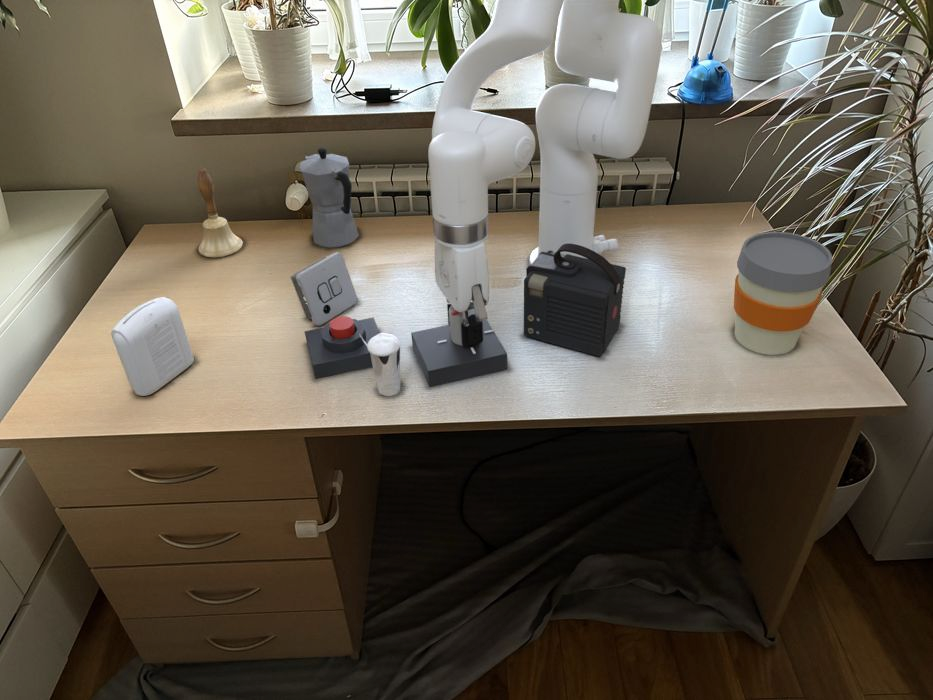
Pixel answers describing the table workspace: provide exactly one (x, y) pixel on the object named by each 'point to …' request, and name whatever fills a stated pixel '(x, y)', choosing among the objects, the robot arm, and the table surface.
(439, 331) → the panel
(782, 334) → the reusable coffee cup
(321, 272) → the electrical switch
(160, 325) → the photo printer
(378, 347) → the milkshake
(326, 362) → the power housing
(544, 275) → the camera
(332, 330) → the power button
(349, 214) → the coffeepot
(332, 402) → the table surface
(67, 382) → the table surface
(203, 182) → the hand bell
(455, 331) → the dial
